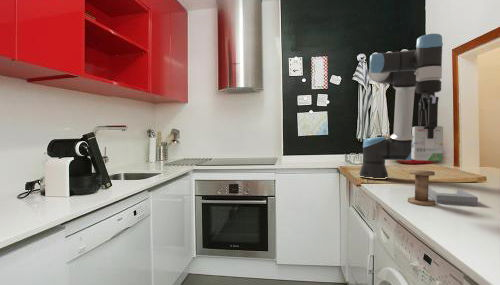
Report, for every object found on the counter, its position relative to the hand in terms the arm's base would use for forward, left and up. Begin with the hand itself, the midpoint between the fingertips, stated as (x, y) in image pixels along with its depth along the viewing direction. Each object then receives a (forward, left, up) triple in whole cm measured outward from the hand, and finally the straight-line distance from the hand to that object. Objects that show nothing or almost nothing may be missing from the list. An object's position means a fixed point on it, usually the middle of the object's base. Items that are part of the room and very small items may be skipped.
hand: (426, 147), depth 97 cm
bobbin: (-8, +1, -21) cm, 23 cm away
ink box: (0, 0, -4) cm, 4 cm away
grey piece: (-16, +13, -21) cm, 30 cm away
